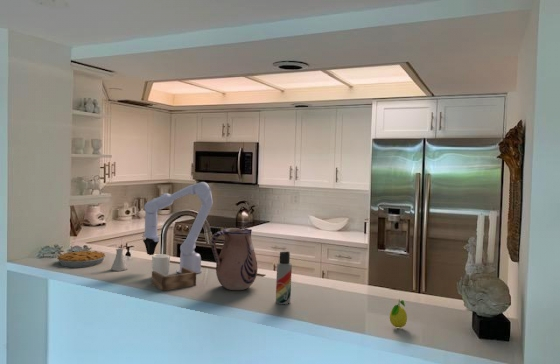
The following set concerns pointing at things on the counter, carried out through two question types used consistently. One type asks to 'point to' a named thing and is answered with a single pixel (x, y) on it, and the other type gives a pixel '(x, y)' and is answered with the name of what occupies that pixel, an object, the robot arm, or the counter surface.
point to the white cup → (161, 264)
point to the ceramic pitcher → (235, 259)
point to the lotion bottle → (283, 279)
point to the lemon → (398, 315)
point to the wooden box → (174, 280)
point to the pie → (81, 258)
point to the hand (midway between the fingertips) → (150, 254)
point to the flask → (119, 261)
